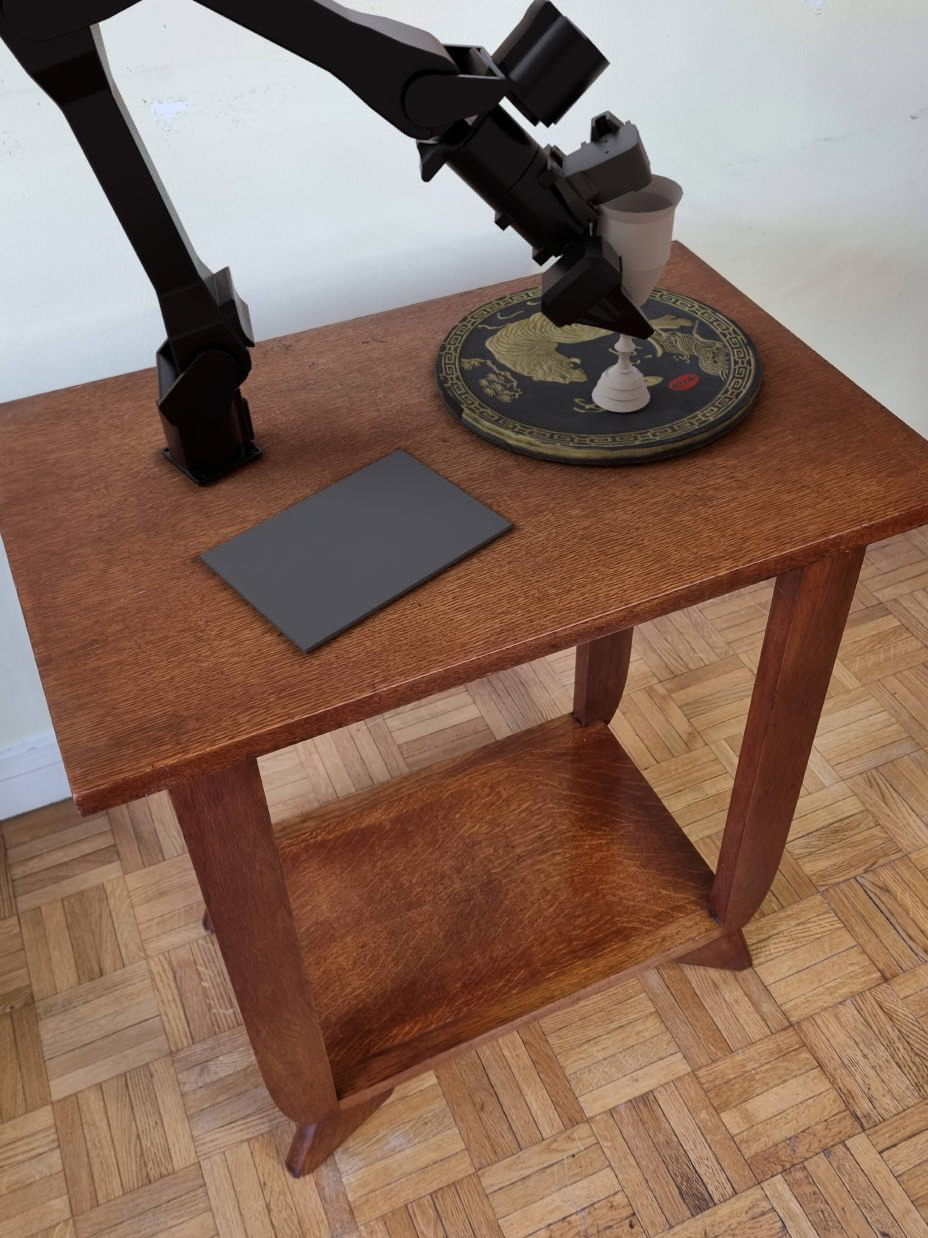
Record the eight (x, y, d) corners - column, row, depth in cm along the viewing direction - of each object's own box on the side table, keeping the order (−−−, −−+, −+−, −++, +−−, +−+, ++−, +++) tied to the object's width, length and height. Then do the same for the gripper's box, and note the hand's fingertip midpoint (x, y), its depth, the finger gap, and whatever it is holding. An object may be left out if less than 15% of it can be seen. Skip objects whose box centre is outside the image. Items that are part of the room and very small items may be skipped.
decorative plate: (835, 372, 96) (565, 495, 85) (831, 391, 98) (565, 514, 87) (619, 251, 115) (374, 339, 104) (618, 268, 116) (376, 356, 105)
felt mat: (305, 654, 77) (305, 650, 76) (200, 559, 84) (199, 555, 84) (512, 527, 86) (512, 523, 85) (400, 452, 93) (400, 448, 93)
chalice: (598, 367, 99) (611, 167, 86) (670, 382, 96) (695, 179, 84) (569, 409, 94) (578, 204, 81) (645, 426, 92) (666, 218, 79)
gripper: (594, 143, 71) (740, 298, 78) (588, 50, 85) (714, 189, 92) (477, 257, 77) (623, 391, 84) (489, 153, 91) (614, 277, 98)
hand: (646, 306), depth 89 cm, fingers open, 9 cm apart
